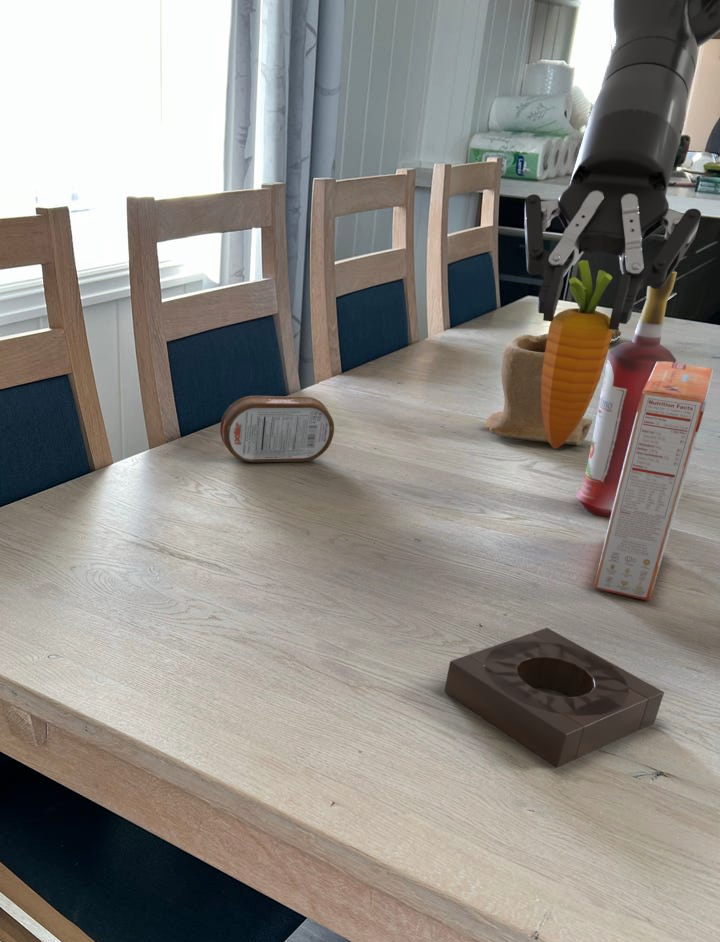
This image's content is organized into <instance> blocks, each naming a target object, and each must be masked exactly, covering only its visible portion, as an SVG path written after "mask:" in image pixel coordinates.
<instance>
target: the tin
mask: <svg viewBox="0 0 720 942" xmlns="http://www.w3.org/2000/svg"><path fill="white" fill-rule="evenodd" d="M334 423H335V422H334V420H333V417H332V415H331V413H330V411H329V410H328V408H327V407H326V405H325V404H324V403H322V402H321V401H320V400H319V399H317V398H314V397H311V396H291V395H290V396H289V395H288V396H285V395H284V396H282V395H281V396H279V395H277V396H275V395H249V396H244V397H242V398H239V399H237V400H236V401H234V402H233V403H232V404H231V405H229V406H228V407H227V409H226V410H225V412H224V413H223V416H222V417H221V421H220V426H219V433H220V437H221V440H222V442H223V444H224V445H225V447H226V448H227V450H228V451H229V452H230V454H232V456H234V458H236V459H238V460H240V461H243V462H246V463H307V462H310V461H314V460H316V459H317V458H319V457H320V456H322V455H323V454H324V453H325V452H326V451H327V450H328V449H329V447H330V445H331V443H332V441H333V438H334V434H335V424H334Z"/></svg>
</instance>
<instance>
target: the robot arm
mask: <svg viewBox="0 0 720 942" xmlns="http://www.w3.org/2000/svg"><path fill="white" fill-rule="evenodd" d="M610 13H611V14H610V17H611V18H610V57H609V60H608V63H607V65H606V69H605V73H604V76H603V80H602V84H601V86H600V90H599V93H598V95H597V98H596V100H595V102H594V104H593V106H592V109H591V111H590V113H589V117H588V120H587V124H586V128H585V130H584V134H583V138H582V140H581V143H580V148H579V151H578V154H577V158H576V160H575V165H574V169H573V172H572V175H571V178H570V182H569V185H568V187H567V188H566V189H565V190H564V191H562V193H561V194H560V195H559V197H558V198H555V199H547V200H542V199H541V197H540V196H539V195H538V194H534V193H533V194H529V195H528V196H527V197H526V198H525V201H524V236H525V237H524V239H525V240H524V241H525V255H526V256H525V257H526V271H527V273H528V274H529V275H532V276H536V275H541V276H542V277H543V279H542V283H541V286H540V289H539V293H538V297H537V312H538V314H543V315H542V316H543V318H542V320H543V321H544V322H550V323H551V322H552V321H553V318H554V316H555V315H556V314H555V313H556V310H557V307H558V304H559V300H560V297H561V292H562V290H563V287H564V278H565V276H566V275H567V274H568V272H569V271H570V269H571V268H572V266H573V267H574V266H576V264H578V262H579V260H580V258H581V257H582V255H584V253H597V252H598V253H599V252H601V253H605V254H608V255H612V256H618V260H619V261H618V262H619V270H620V271H621V277H620V280H619V284H618V287H617V291H616V294H615V299H614V302H613V306H612V310H611V313H610V324H609V329H612V330H618V328H619V327H620V324H622V325H627V324H628V322H629V321H630V320H631V317H632V315H633V314H632V313H633V310H634V306H635V303H636V299H637V295H638V292H639V291H640V290H641V289H643V288H647V286H650V287H651V288H654V289H659V288H662V287H663V286H664V285H665V283H666V282H667V280H668V278H669V277H670V275H671V274H672V272H673V271H675V269H676V268H677V267H678V265H679V263H680V261H682V259H683V257H684V256H685V254H686V252H687V251H688V250H689V248H690V246H691V245H692V244H693V242H694V241H695V238H696V235H697V231H698V228H699V225H700V221H701V217H702V212H701V211H700V210H699V209H698V208H689V209H687V210H686V211H685V212H684V213H683V212H681V211H677V210H674V209H672V208H670V205H669V201H668V199H667V191H668V188H669V184H670V180H671V176H672V174H673V169H674V165H675V161H676V158H677V154H678V152H679V149H680V147H681V143H682V142H681V138H682V135H683V131H684V127H685V122H686V115H687V113H686V112H687V105H688V104H687V102H688V98H689V95H690V91H691V87H692V83H693V79H694V77H695V72H696V69H697V62H698V57H699V56H698V54H699V53H698V52H699V49H698V48H699V47H701V46H703V45H704V44H705V43H707V42H709V41H710V40H711V39H712V38H714V37H715V36H716V35H717V34H718V33H720V0H611V11H610ZM541 200H542V201H541ZM556 217H558V218H559V220H560V222H561V224H562V226H563V228H564V231H563V233H562V234H561V238H560V240H559V242H558V243H557V244H556V245H555V247H554V249H553V250H552V251H549V250H546V249H544V247H545V246H544V232H545V231H546V229H548V228H549V227H550V226H551V222H552V221H553V219H554V218H556ZM661 227H664V229H665V233H664V239H665V240H666V241H665V243H664V244H663V245H662V247H661V248H660V250H659V252H658V253H657V255H656V256H655V258H653V260H651V261H645V262H644V256H643V242H644V240H646V239H647V238H648V237H649V236H652V234H654V233H655V232H656V231H657V230H659V229H660V228H661ZM619 329H620V328H619Z"/></svg>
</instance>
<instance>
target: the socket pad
mask: <svg viewBox="0 0 720 942" xmlns="http://www.w3.org/2000/svg"><path fill="white" fill-rule="evenodd" d="M536 688H543V689H549V690H554V691H557V692H560V693H562V694H566V695H568V696H561V695H554V694H550V693H546V692H543V691H541V690H539V689H536ZM444 692H445V693H446V694H447V695H448V696H450V697H452V698H453V699H455V700H456V701H457V702H459V703H460V704H462V705H463V706H464V707H467V708H468V709H470V710H471V711H472V712H474V713H476V714H477V715H478V716H480V717H481V718H483V719H485V720H486V721H488V722H489V723H491V724H492V725H493V726H495V727H496V728H497V729H499V730H501V731H502V732H504V733H506V735H509V736H510V737H511V738H513V739H514V740H516V741H517V742H519V743H520V744H522V745H523V746H525V747H526V748H527V749H529V750H530V751H531V752H533V753H535V754H536V755H538V756H539V757H541V758H542V759H544V760H546V761H547V762H548V763H550V764H551V765H552V766H554V767H556V768H559V767H561V766H564V765H565V764H568V763H570V762H572V761H575V760H576V759H578V758H580V757H583V756H584V755H587V754H589V753H591V752H593V751H595V750H598V749H600V748H602V747H604V746H607V745H609V744H611V743H613V742H615V741H617V740H620V739H622V738H624V737H625V736H628V735H630V734H632V733H635V732H637V731H640V730H642V729H644V728H646V727H648V726H650V725H653V724H655V722H656V719H657V716H658V713H659V710H660V707H661V703H662V700H663V698H664V694H665V691H663V690H662V689H660V688H658V687H655V686H654V685H652V684H650V683H649V682H646V680H645V681H644V680H643V679H641V678H640V677H637V676H636V675H634V674H632V673H631V672H628V671H627V670H625V669H623V668H621V667H620V666H618V665H615V664H614V663H613V662H610V661H609V660H607V659H605V658H603V657H602V656H600V655H597V654H596V653H594V652H592V651H590V650H589V649H586V648H585V647H583V646H581V645H579V644H577V643H575V642H574V641H572V640H570V639H568V638H567V637H565V636H563V635H562V634H559V633H558V632H556V631H554V630H553V629H550V628H548V627H545V628H542V629H539V630H535V631H533V632H531V633H528V634H525V635H522V636H519V637H516V638H513V639H510V640H507V641H504V642H501V643H498V644H495V645H493V646H490V647H487V648H484V649H480V650H477V651H475V652H472V653H469V654H468V655H467V654H466V655H464V656H461V657H459V658H455V659H452V660H450V661H449V665H448V669H447V674H446V681H445V686H444Z"/></svg>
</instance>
